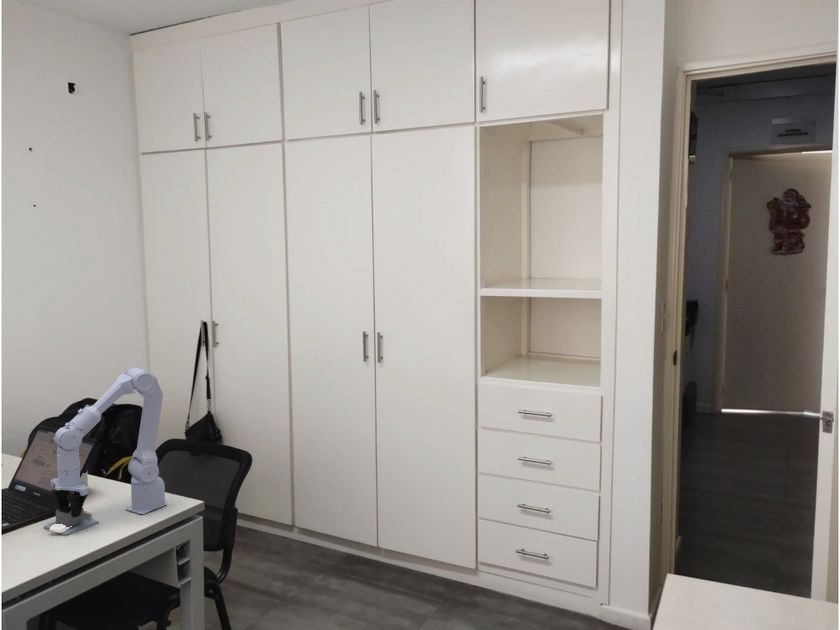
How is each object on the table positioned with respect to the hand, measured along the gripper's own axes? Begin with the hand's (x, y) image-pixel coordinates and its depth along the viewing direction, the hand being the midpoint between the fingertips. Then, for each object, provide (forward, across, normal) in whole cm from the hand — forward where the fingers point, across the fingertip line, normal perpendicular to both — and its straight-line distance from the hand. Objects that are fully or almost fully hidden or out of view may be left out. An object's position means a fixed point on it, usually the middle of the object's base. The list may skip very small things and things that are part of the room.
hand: (70, 514), depth 202 cm
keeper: (+4, 0, 0) cm, 4 cm away
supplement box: (+4, -21, +16) cm, 27 cm away
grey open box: (+2, 0, 0) cm, 2 cm away
